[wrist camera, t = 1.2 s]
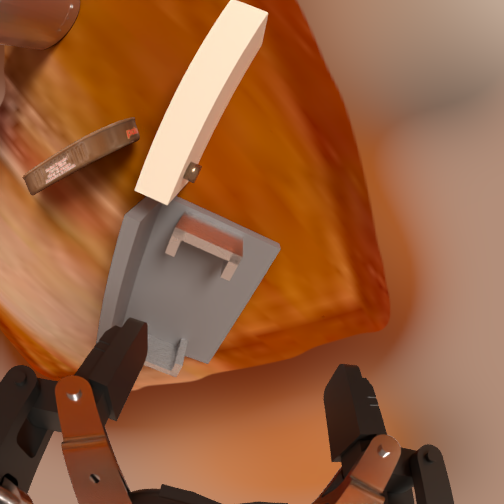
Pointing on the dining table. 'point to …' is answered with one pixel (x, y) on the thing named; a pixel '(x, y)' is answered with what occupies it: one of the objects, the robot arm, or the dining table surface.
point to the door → (201, 101)
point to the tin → (81, 154)
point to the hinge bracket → (182, 279)
